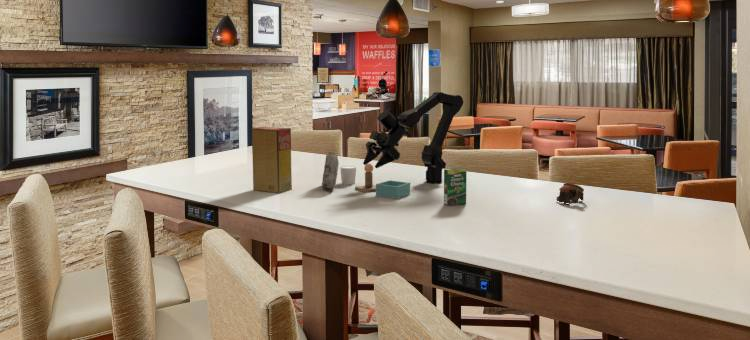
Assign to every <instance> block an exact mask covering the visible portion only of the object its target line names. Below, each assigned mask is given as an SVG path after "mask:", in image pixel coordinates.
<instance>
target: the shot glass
mask: <svg viewBox="0 0 750 340" xmlns="http://www.w3.org/2000/svg"><path fill="white" fill-rule="evenodd" d="M339 170H340V179H341V184H342V185H348V186H350V185H355V183H356V173H357V167H356V166H355V165H354V166H353V165H345V166H340V167H339Z"/></svg>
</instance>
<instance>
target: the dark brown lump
mask: <svg viewBox="0 0 750 340" xmlns="http://www.w3.org/2000/svg"><path fill="white" fill-rule="evenodd" d="M558 190H559V195H558V196H556V200H557V201H559V202H558V203H560V202H564V203H569V204H570V203H573V204H576V203H577V204H578V201H579V200H580V199H581V200H583V201H584V190H585V189H584V187H582V186H580V185H578V184H575V183H570V182H565V183H563V185H562V186H561V187H559V189H558Z"/></svg>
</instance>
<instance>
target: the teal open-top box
mask: <svg viewBox="0 0 750 340" xmlns="http://www.w3.org/2000/svg"><path fill="white" fill-rule="evenodd" d="M375 186H376V191H375V196H377V197H384V198H388V199H389V198H390V199H397V200H398V199H400V198H403V197H407V196H409V195H411V182H406V181H399V180H390V179H389V180H386V181H382V182H378V183H375Z"/></svg>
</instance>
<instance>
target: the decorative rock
mask: <svg viewBox="0 0 750 340" xmlns="http://www.w3.org/2000/svg"><path fill="white" fill-rule="evenodd" d="M323 168H324V169H323V174H322V182H321V187H322V189H323V190H324V189H325V190H333V189H335V186H336V185H337V177H338V171H339V157H338V153H335V152H333V151H327V153H326V156H325V161H324V167H323Z"/></svg>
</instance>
